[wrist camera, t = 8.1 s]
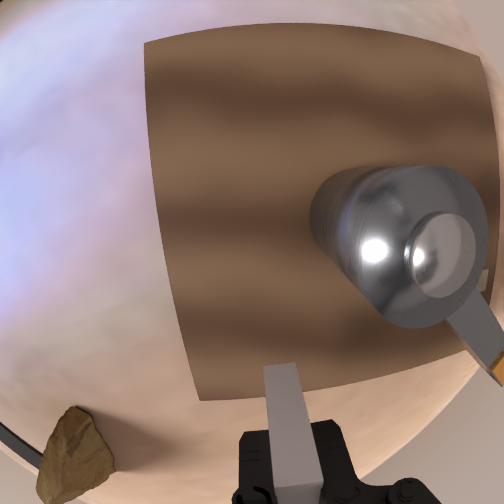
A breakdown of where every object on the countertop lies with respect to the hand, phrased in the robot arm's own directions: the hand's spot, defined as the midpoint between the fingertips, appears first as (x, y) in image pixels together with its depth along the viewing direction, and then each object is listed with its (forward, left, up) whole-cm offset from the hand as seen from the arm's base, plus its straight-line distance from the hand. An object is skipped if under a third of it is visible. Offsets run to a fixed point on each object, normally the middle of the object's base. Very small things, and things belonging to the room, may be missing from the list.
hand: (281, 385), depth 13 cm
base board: (-7, +6, -5) cm, 11 cm away
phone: (+21, -37, -6) cm, 43 cm away
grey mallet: (-3, +9, -3) cm, 10 cm away
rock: (+13, -19, -6) cm, 24 cm away
